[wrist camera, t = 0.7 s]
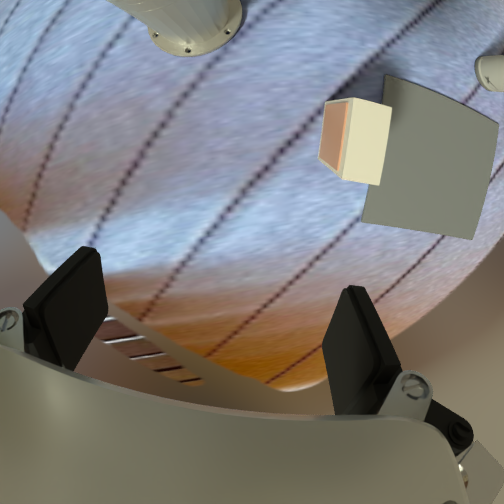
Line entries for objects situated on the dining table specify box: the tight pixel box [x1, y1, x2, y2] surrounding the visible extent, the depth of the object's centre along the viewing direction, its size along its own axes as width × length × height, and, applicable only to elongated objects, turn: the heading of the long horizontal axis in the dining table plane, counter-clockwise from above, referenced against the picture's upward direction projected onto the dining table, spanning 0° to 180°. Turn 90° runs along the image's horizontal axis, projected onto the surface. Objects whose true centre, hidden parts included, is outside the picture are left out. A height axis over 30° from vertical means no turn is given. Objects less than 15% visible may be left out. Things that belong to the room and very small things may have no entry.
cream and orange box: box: [318, 97, 392, 186], centre depth 29 cm, size 8×4×12 cm, turn 175°
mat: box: [361, 75, 499, 240], centre depth 35 cm, size 22×24×1 cm
